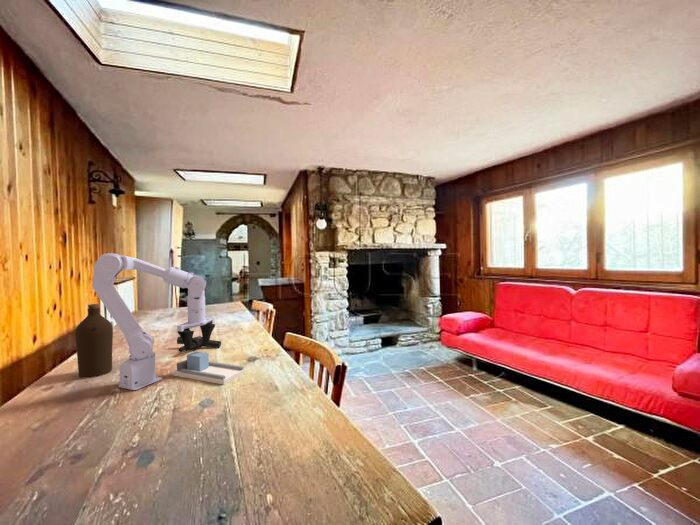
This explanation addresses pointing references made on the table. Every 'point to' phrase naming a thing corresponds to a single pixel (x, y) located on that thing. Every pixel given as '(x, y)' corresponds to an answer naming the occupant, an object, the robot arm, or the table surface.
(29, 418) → the table surface
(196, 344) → the black forked piece
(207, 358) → the block
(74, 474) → the table surface
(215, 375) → the rail board
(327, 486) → the table surface
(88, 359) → the olive oil
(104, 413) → the table surface
